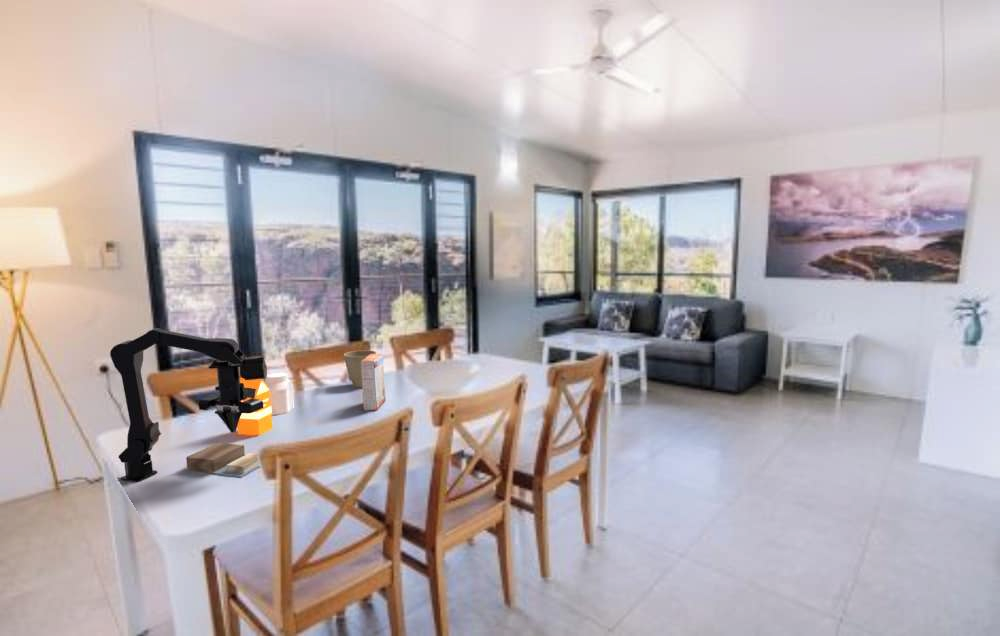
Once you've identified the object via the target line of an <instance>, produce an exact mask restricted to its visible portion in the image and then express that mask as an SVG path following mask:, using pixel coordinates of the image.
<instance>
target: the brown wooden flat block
mask: <svg viewBox="0 0 1000 636" xmlns="http://www.w3.org/2000/svg"><path fill="white" fill-rule="evenodd" d="M245 455H246V454H245V445H243V444H235V443H226V442H216V443H213V444H211V445H210V446H207V447H206V448H203V449H200V450H199V451H197V452H196V451H195V452H194V453H192V454H190V455H188V456H186V457H185V459H186V470H187V471H193V472H202V473H208V474H209V473H210V474H213V473H214V472H216V471H218V470H220V469H222V468H223V467H225V466H227V464H229V463H231V462H233V461H235V460H237V459H239V458H241V457H243V456H245Z"/></svg>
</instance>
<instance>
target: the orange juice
mask: <svg viewBox="0 0 1000 636" xmlns="http://www.w3.org/2000/svg"><path fill="white" fill-rule="evenodd" d="M264 380H265V379H257V380H245V379H242V377H241V376H240V383H243V384H244V387H245V388H254V389H256V392H255V398H254V399H261V400H262V401H263V407H264V408H262V409H260V410H258V411H255V412H253V413H249V414H247V413H242V414H241V417H240V419H239V422H238V426H237V429H236V430H237V434H238V435H240V434H246V435H245V436H255V435H260V436H262V435H263V433H264V434H266V433H268V432H270V431H271V430H273V415H272V409H271V398H270V390H269V388H268V387H267V385H266V382H265V381H264ZM249 399H252V398H247V399H245V400H241V402H244V401H246V400H249ZM261 434H262V435H261Z"/></svg>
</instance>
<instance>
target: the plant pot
mask: <svg viewBox="0 0 1000 636" xmlns="http://www.w3.org/2000/svg"><path fill="white" fill-rule="evenodd" d="M370 354H377V352H376V351H374V350H366V349H365V350H364V349H363V350H353V351H347V352H345V353H344V354H343V357H344V358H343V359H344V362H345V367H346V369H347V374H348V376H349V378H350V381H351V383H352V385H353V387H354V388H359V389H360V388H362V373H361V361H362V360H363V359H365V358H366V357H367V356H369V355H370Z"/></svg>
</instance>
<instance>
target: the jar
mask: <svg viewBox="0 0 1000 636" xmlns="http://www.w3.org/2000/svg"><path fill="white" fill-rule="evenodd" d="M265 380H266V382H265V383H266V385H267V387H268V388H269V390H270V398H271V409H272V416H277V415H279V416H280V415H284V414H288V413H289V412H290V411H292V410H294V409H295V402H294V401H295V399H294V384H293V382H292V381H291V380H289V374H288V372H274V373H269V374H268V373H267V377H266V379H265Z"/></svg>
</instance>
